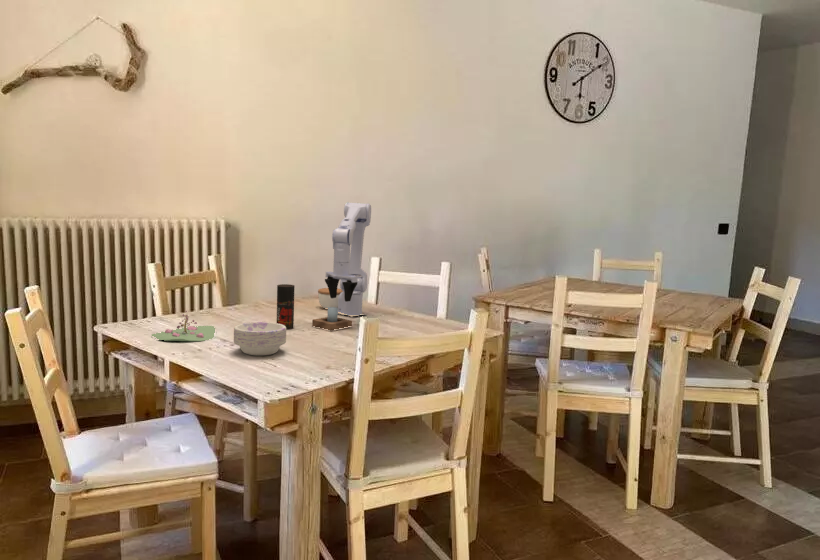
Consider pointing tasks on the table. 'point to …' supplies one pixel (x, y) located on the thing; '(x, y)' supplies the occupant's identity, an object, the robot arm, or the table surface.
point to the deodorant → (285, 305)
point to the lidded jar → (328, 298)
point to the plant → (187, 333)
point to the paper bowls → (259, 337)
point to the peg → (332, 314)
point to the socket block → (331, 323)
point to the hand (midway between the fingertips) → (340, 299)
